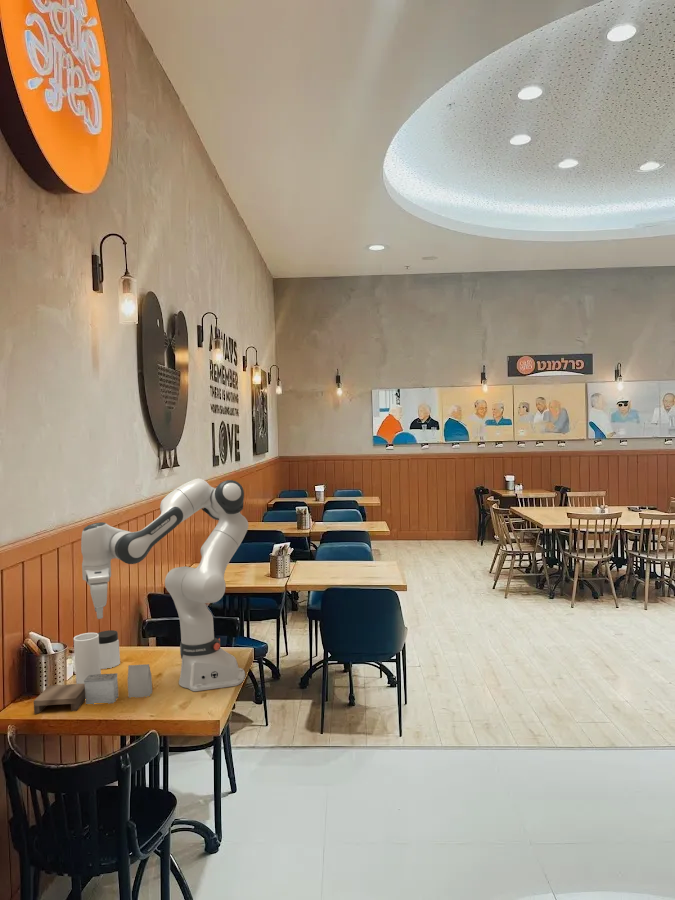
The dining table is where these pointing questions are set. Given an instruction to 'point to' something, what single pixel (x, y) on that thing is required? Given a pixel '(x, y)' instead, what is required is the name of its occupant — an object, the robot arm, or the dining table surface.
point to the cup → (86, 656)
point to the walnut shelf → (61, 696)
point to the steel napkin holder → (101, 688)
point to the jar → (109, 649)
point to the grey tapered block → (139, 681)
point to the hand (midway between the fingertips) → (98, 614)
